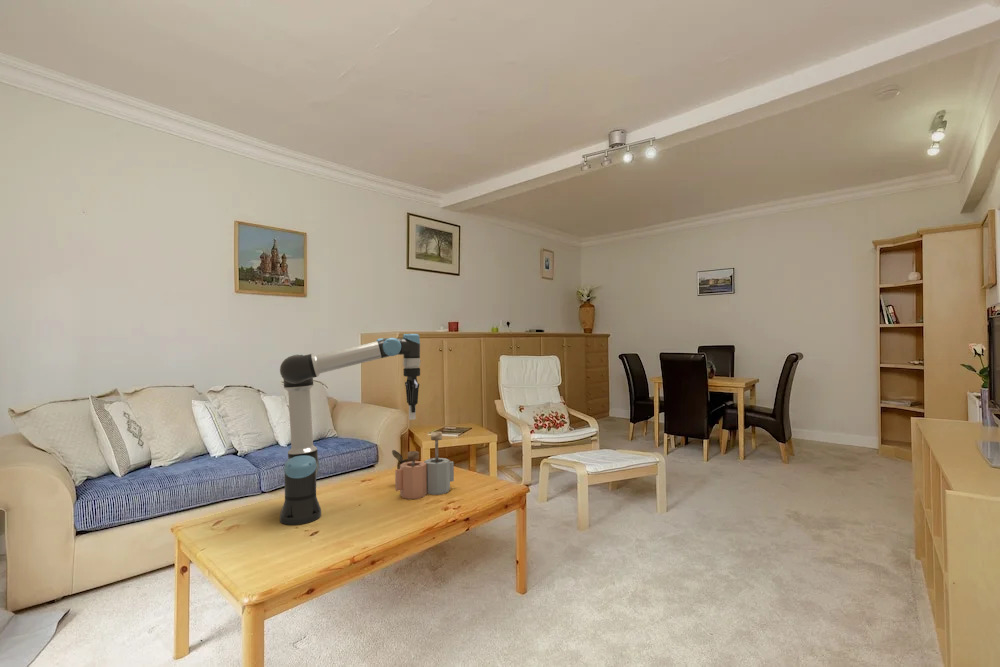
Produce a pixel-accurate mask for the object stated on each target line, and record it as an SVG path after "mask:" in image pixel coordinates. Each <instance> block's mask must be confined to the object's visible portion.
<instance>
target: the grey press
mask: <svg viewBox="0 0 1000 667" xmlns="http://www.w3.org/2000/svg"><path fill="white" fill-rule="evenodd" d="M423 462H424V463H426V464H427V494H426V495H431V496H437V495H438V496H439V495H445V494H447V493H449V491H450V490H451V483H452V482H454V481H455V480H454V479H455V478H454V476H455V475H454V474H455V473H454V472H455V471H454V470H455V468H454V466H455V465H454V464H455V462H454V461H451V460H450V459H448V458H444V457H438V463H435V457H433V458H427V459H426V460H424V461H423Z"/></svg>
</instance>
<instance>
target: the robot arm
mask: <svg viewBox="0 0 1000 667" xmlns="http://www.w3.org/2000/svg"><path fill="white" fill-rule="evenodd" d="M397 355H402V356H403V359H402V360H403V362H402V364H403V365H402V366H403V367H404V368H403V377H406V378H407V379H406V381H405V382H404V386H405V394H406V403H407V404H408V420H409V421H412V420H416V419H417V417H416V415H417V414H416V405H418V402H419V401H418V400H419V399H418V398H419V388H420V383H418V379H417V377H420V376H421V368H420V367H421V362H422V360H421V339H420V335H419V334H418V333H403V336H402V337H399V338H398V337H388V338H386V337H385V338H384V337H383V338H377V339H376V340H375V341H373V342H369V343H368V342H367V343H364V344H360V345H358V344H357V345H354V346H350V347H346V348H342V349H338V350H333V351H329V352H324V353H320V354H314V353H309V354H305V355H303V354H293V355H290V356H288V357H286V358H285V359H284V360H283V361H282V363H281V364H280V367H279V373H280V377H282V379H283V388H284V389H285V390H286V391H287V392H288V408H289V410H288V411H289V413H288V414H289V426H290V428H289V429H290V444H291V448H290V449H289V450H288V451H287V460H286V461H285V463H284V467H283V472H284V502H283V504H282V508H281V511H280V513H279V522H280V523H281V524H283V525H289V526H292V525H297V526H298V525H303V524H308V523H312V522H314V521H317V520H318V519H320V517H321V516H322V508H321V506H320V503H319V501H318V497H317V475H318V472H319V469H320V460H319V454H318V447H317V446H315V445H314V437H313V436H314V435H313V420H312V401H311V389H312V388H313V386H314V378H318V377H319V376H320V374H323V373H327V372H332V371H335V370H340V369H343V368H348V367H351V366H355V365H356V366H357V365H360V364H364V363H367V362H372V361H376V360H380V359H384V358H388V357H394V356H397Z"/></svg>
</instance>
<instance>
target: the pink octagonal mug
mask: <svg viewBox="0 0 1000 667" xmlns="http://www.w3.org/2000/svg"><path fill="white" fill-rule="evenodd" d="M394 471H395V472H394V474H395V475H394V479H395V482H394V486H395V487H394V488H395V491H396V492H398V491H399V495H400V497H401V498H403V499H406V500H417V499H421V498H424V497H426V495H428V494H427V464H426V463H424V461H422V460H421V461H419V460H416V461H415V466H412V461H411V462H404V463H403V464H401V465H400V469H398V470H397V469H395V470H394Z"/></svg>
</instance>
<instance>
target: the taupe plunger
mask: <svg viewBox="0 0 1000 667" xmlns="http://www.w3.org/2000/svg"><path fill="white" fill-rule="evenodd" d="M419 454H420V452H419V451H417V450H412V451H411V450H410V451H408V452H407V459H408V460H409V461H412V466H415V461H419V459H420V455H419Z"/></svg>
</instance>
